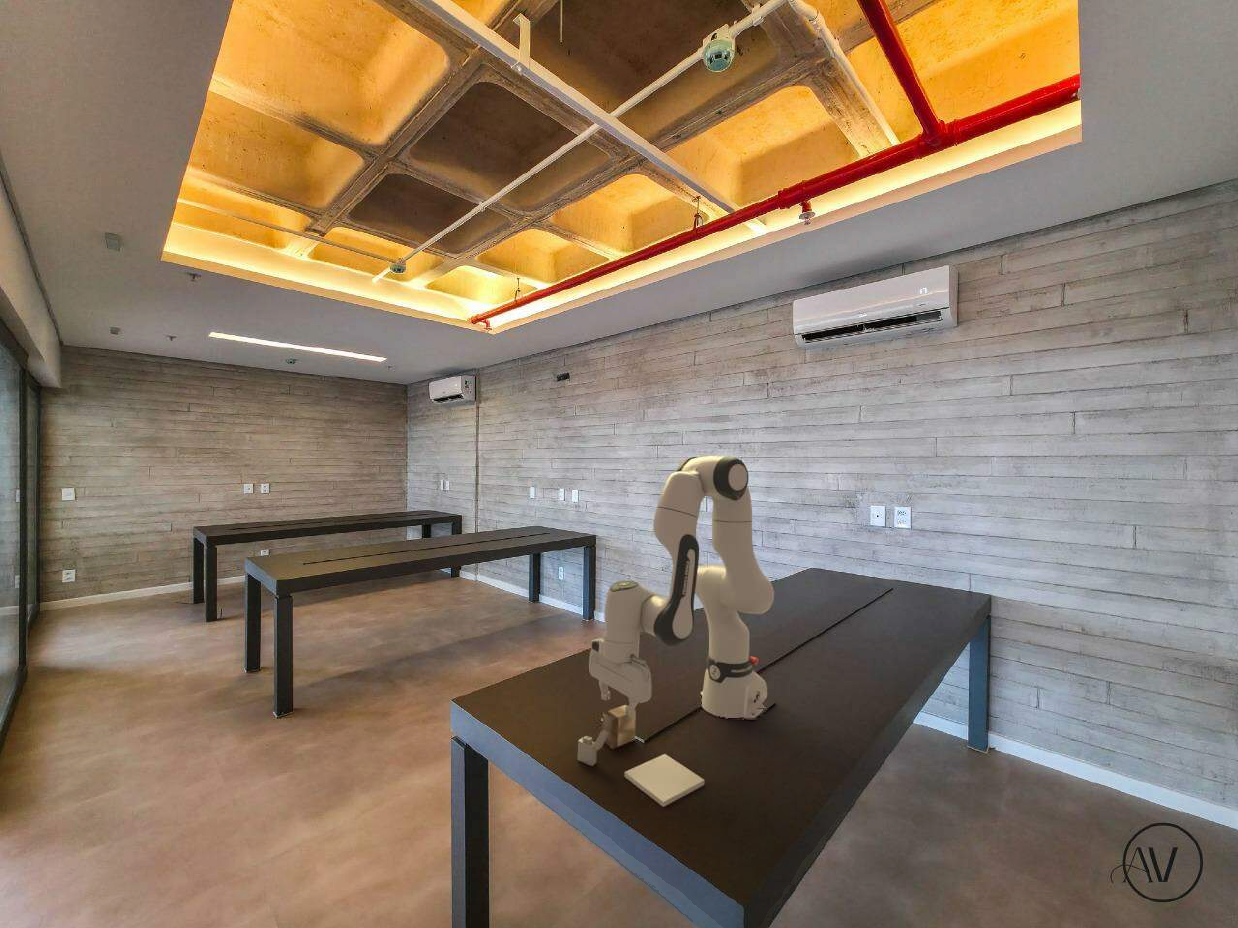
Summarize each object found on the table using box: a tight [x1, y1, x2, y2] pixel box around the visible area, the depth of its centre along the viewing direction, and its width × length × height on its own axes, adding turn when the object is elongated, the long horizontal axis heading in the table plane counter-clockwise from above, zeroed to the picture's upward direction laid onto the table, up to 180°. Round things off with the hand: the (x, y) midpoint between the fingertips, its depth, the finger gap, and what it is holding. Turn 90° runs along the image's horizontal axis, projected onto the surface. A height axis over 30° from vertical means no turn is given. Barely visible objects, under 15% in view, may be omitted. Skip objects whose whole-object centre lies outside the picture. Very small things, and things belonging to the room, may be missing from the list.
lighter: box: [577, 730, 609, 767], centre depth 114 cm, size 7×2×8 cm, turn 59°
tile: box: [624, 753, 705, 808], centre depth 108 cm, size 12×12×1 cm
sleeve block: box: [601, 704, 637, 750], centre depth 124 cm, size 7×4×7 cm, turn 129°
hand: (617, 706), depth 123 cm, fingers open, 8 cm apart
